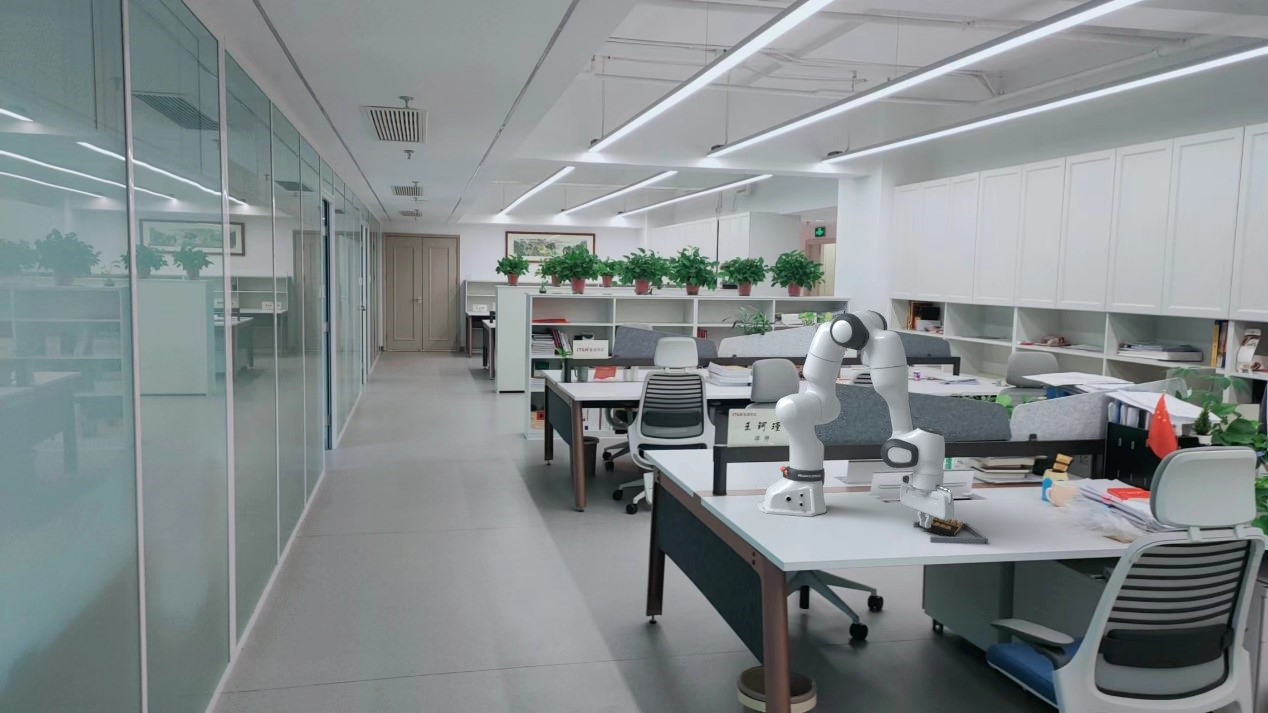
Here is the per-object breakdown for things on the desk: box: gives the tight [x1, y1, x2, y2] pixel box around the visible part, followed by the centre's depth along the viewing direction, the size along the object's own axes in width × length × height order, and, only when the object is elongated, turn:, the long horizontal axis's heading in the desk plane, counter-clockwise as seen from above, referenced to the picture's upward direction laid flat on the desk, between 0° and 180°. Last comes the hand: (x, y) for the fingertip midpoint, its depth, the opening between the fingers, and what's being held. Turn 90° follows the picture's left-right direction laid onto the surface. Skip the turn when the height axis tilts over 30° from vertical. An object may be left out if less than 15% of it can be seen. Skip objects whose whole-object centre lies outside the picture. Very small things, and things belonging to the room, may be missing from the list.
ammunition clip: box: [918, 516, 964, 537], centre depth 264 cm, size 11×2×12 cm
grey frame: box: [912, 521, 989, 545], centre depth 259 cm, size 16×17×2 cm
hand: (925, 526), depth 259 cm, fingers closed
